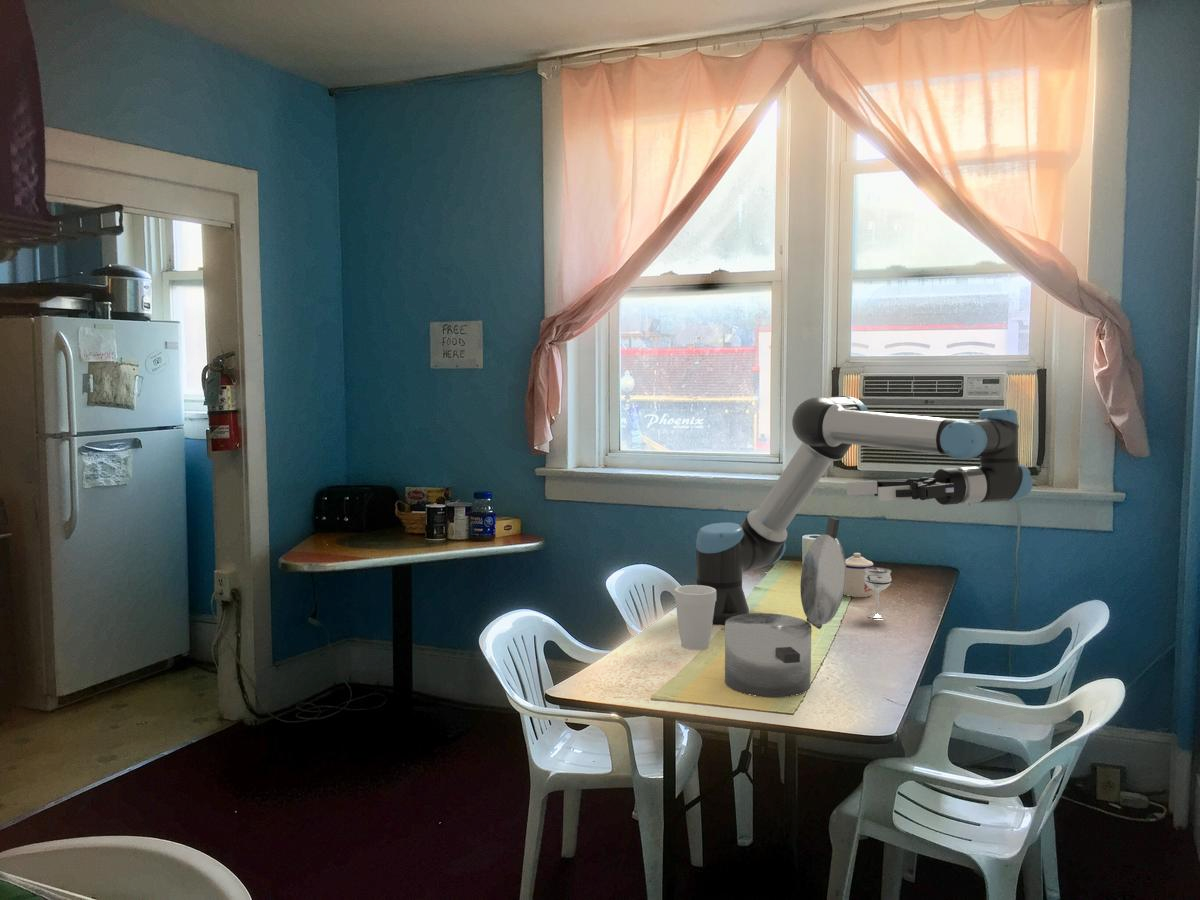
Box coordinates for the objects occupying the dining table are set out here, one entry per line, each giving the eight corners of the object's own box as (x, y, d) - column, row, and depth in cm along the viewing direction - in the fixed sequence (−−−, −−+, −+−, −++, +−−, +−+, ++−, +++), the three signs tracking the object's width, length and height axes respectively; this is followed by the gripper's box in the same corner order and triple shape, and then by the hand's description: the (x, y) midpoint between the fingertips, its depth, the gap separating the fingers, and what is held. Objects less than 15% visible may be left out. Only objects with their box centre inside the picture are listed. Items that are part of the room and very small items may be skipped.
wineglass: (869, 611, 241) (870, 566, 240) (894, 616, 237) (895, 570, 236) (858, 617, 236) (859, 570, 235) (884, 621, 232) (885, 574, 231)
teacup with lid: (871, 599, 255) (872, 557, 254) (837, 596, 258) (838, 555, 257) (875, 589, 266) (876, 549, 265) (842, 587, 269) (843, 547, 268)
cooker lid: (793, 613, 196) (799, 614, 196) (829, 637, 178) (835, 638, 179) (812, 511, 195) (818, 512, 195) (850, 525, 177) (856, 526, 178)
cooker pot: (783, 660, 201) (784, 606, 200) (834, 702, 175) (835, 640, 174) (707, 664, 198) (708, 609, 197) (748, 708, 172) (748, 645, 171)
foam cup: (682, 653, 206) (683, 595, 205) (668, 641, 215) (668, 586, 214) (722, 649, 209) (722, 593, 208) (706, 638, 218) (707, 584, 217)
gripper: (994, 509, 181) (893, 516, 177) (926, 498, 205) (836, 504, 201) (993, 471, 180) (892, 477, 176) (925, 464, 205) (835, 469, 201)
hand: (862, 491), depth 189 cm, fingers open, 13 cm apart
